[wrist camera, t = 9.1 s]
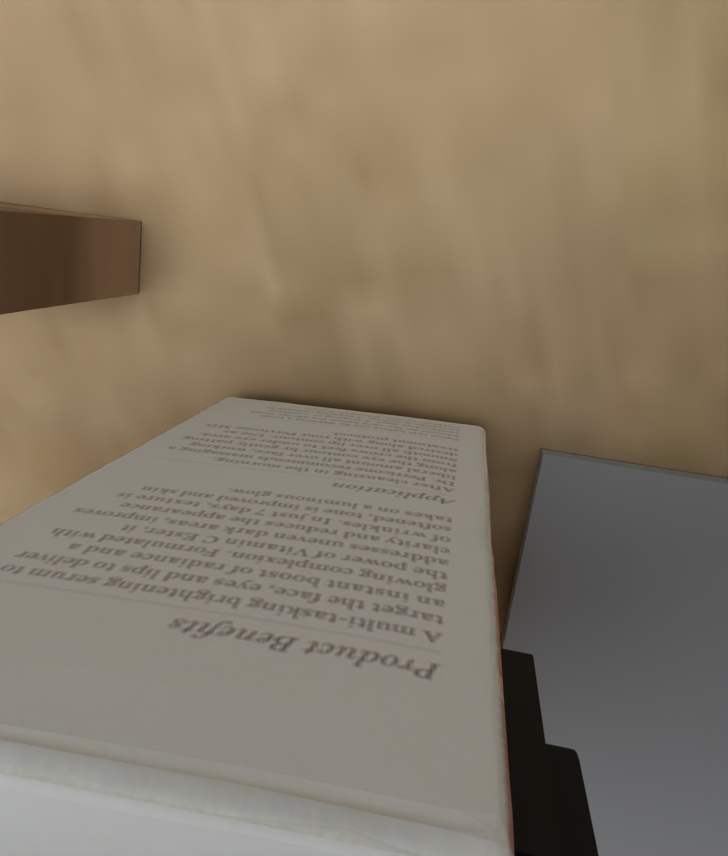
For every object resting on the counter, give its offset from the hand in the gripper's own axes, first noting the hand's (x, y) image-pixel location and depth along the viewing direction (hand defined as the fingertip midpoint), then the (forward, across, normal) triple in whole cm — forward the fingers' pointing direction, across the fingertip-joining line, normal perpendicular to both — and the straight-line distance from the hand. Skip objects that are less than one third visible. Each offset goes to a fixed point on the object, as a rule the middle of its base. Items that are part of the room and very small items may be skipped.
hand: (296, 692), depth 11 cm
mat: (+5, -8, +2) cm, 9 cm away
